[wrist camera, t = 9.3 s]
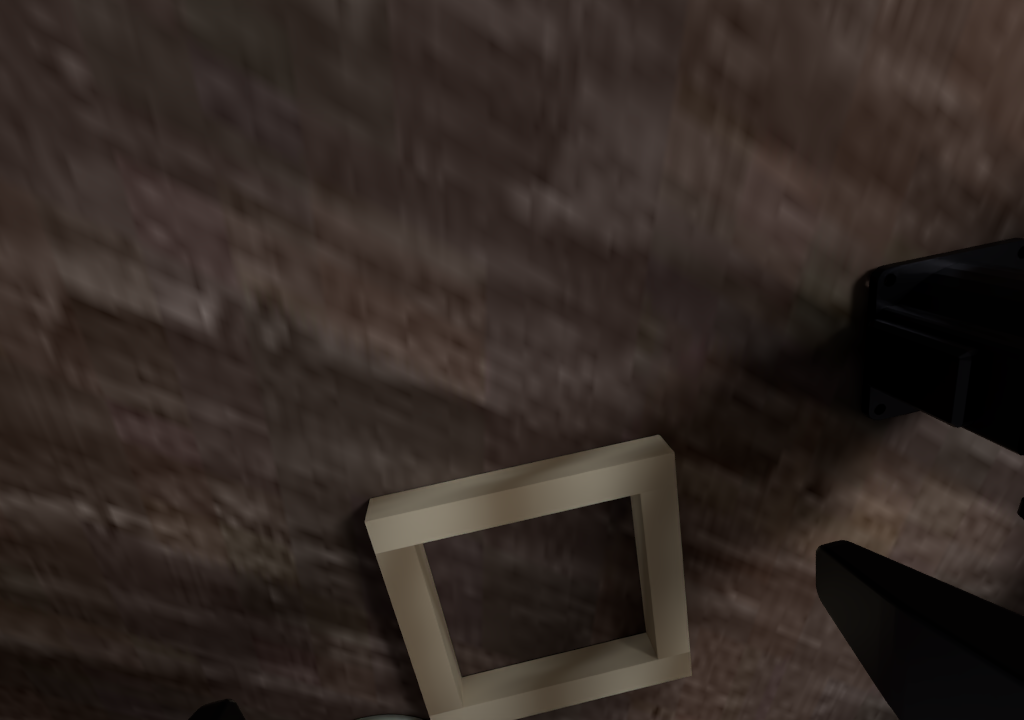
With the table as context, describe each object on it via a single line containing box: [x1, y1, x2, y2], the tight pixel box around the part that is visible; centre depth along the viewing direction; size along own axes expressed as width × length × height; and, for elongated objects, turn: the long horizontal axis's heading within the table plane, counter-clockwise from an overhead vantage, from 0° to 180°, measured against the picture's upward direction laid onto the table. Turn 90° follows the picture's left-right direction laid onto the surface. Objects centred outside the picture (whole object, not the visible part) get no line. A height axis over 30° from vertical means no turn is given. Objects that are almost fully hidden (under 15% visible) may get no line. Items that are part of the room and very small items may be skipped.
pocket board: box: [365, 435, 692, 720], centre depth 22 cm, size 12×12×2 cm
